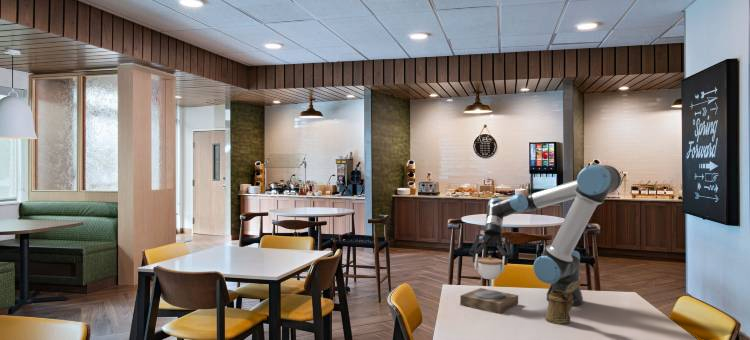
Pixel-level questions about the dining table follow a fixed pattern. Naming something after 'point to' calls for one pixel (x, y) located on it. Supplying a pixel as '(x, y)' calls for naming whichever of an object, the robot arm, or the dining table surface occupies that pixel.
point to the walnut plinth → (489, 300)
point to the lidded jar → (489, 267)
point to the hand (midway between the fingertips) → (488, 269)
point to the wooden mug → (561, 304)
